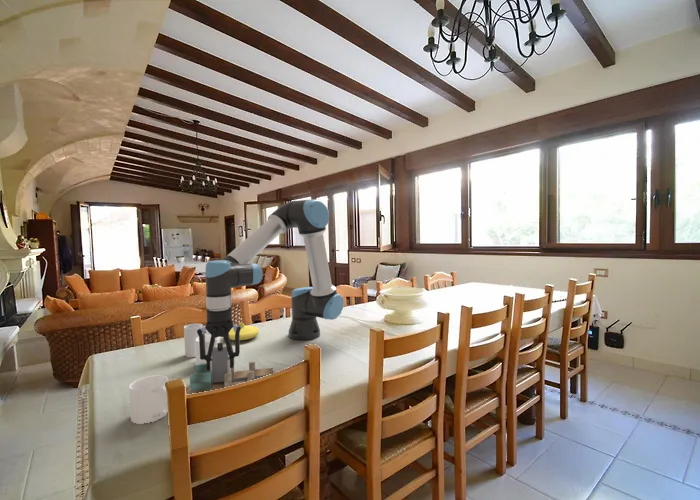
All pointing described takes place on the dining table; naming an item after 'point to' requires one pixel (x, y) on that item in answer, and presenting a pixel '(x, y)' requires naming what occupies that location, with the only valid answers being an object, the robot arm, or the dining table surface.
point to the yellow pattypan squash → (244, 332)
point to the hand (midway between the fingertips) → (221, 377)
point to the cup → (207, 342)
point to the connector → (219, 363)
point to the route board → (204, 379)
